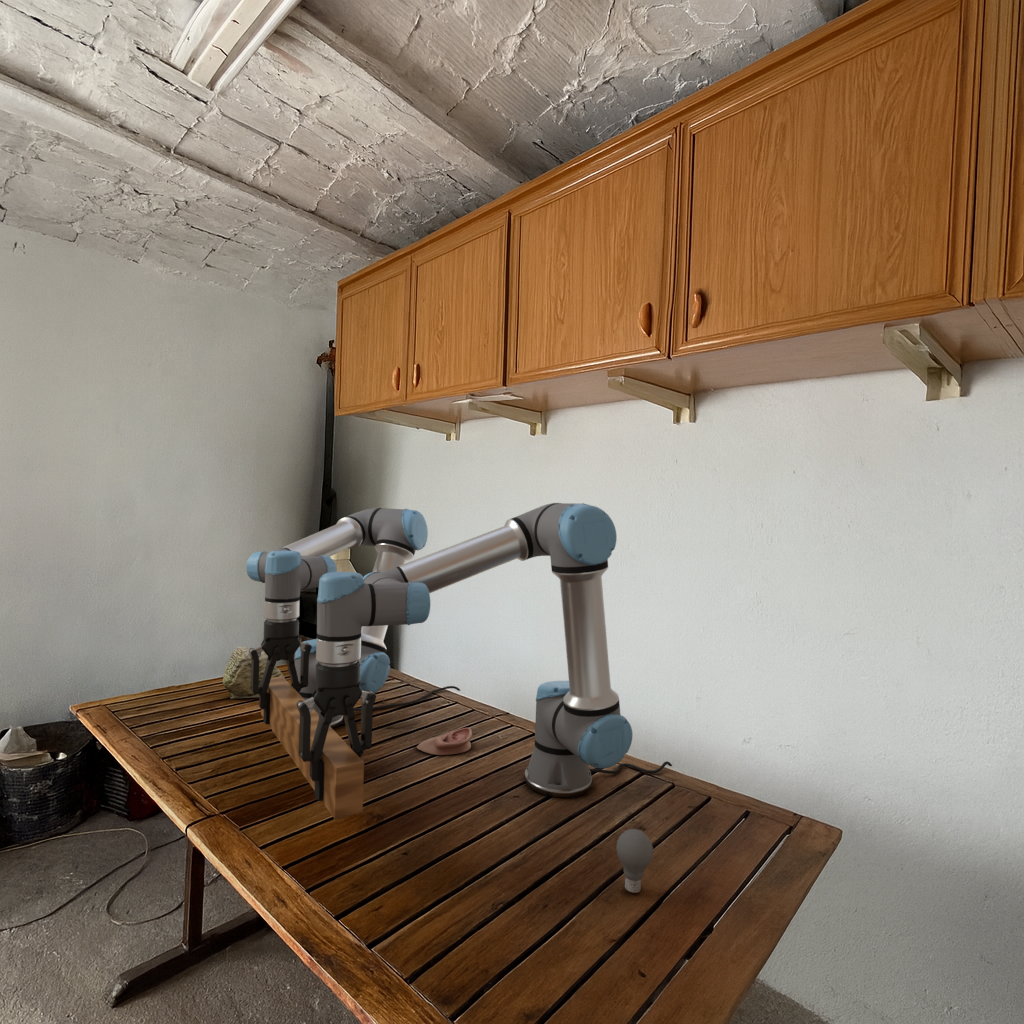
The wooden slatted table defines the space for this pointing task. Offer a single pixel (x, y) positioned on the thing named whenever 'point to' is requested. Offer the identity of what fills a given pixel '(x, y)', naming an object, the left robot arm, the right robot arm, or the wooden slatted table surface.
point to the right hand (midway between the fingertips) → (334, 793)
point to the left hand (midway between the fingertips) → (278, 720)
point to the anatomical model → (448, 743)
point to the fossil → (244, 673)
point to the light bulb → (634, 857)
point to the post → (338, 757)
